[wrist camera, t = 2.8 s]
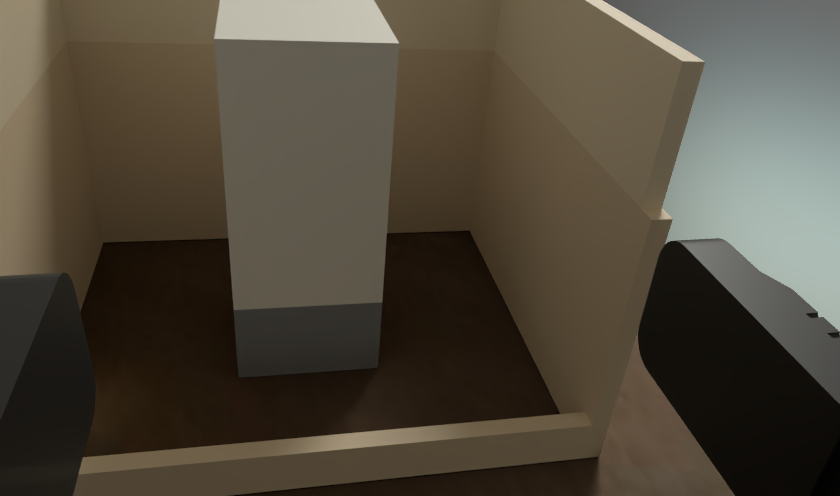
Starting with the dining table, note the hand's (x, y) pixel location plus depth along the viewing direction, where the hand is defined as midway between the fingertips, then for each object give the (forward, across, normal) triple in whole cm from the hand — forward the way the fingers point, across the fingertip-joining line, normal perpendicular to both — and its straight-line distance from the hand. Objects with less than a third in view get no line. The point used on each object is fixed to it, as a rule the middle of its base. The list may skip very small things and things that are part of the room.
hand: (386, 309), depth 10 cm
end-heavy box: (+14, 0, +12) cm, 19 cm away
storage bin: (+14, 0, +12) cm, 19 cm away
